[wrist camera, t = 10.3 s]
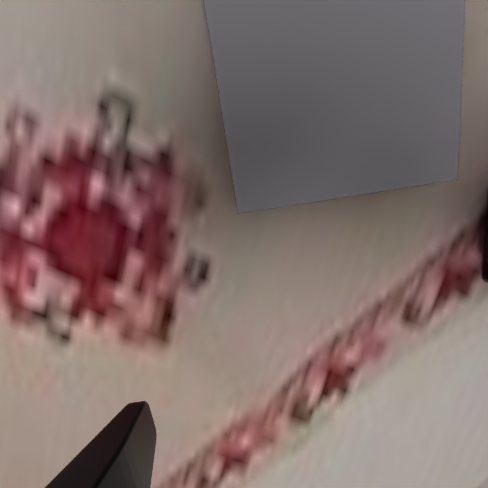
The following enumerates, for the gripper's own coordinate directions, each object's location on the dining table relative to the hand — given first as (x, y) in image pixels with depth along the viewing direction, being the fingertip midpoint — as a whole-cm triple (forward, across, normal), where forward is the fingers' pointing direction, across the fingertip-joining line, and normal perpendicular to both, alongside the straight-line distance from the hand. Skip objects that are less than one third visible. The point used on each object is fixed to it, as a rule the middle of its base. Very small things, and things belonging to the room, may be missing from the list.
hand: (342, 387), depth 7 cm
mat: (+13, -4, -8) cm, 16 cm away
